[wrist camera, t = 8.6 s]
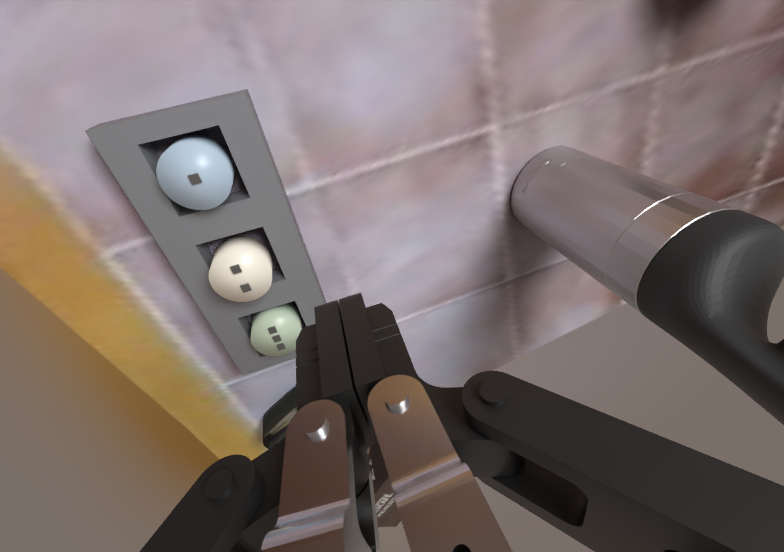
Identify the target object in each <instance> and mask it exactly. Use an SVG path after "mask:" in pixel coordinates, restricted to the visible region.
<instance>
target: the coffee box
mask: <svg viewBox="0 0 784 552" xmlns="http://www.w3.org/2000/svg"><path fill="white" fill-rule="evenodd" d="M372 431H373V430H372ZM373 436H374V441H375V444H373V445H370V446H367V447H366V448H367V453H368V458H369V464H370V471H371V474H372V480H373V488H374V497H375V506H376V515H377V524H378V527H381V526H382V527H385V526H386V527H387V526H394V527H395V526H397V525H398V523H399V522H400V521H401V518H400V515H399V511H398V508H397V505H396V501H395V498H394V493H393V492H394V491H393V487H392V484H391V481H390V477H389V474H388V471H387V468H386V465H385V461H384V458H383V455H382V452H381V449H380V445H379V442H378V443H377V440H376V438H375V435H374V433H373Z"/></svg>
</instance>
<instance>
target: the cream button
mask: <svg viewBox="0 0 784 552" xmlns="http://www.w3.org/2000/svg"><path fill="white" fill-rule="evenodd" d="M209 282H210V284H211V286H212V288H213V289H214V291H215V292H216V293H218V294H219V295H220V296H222V297H223V298H225V299H228V300H231V301H236V302H248V301H253V300H255V299H258V298H260V297H261V296H263V295H264V294H265V293H266V292H267V291H268V290H269V288H270V286H271V283H272V255H271V253H270V251H269V249H268V248H267V247H266V246H265V245H264V244H263V243H262V242H260V241H259V240H257V239H254V238H252V237H247V236H236V237H231V238H229V239H226V240H225V241H223V242H222V243H221V244H220V245H219V246H218V247H217V249H216V250H215V253H214V256H213V260H212V263H211V267H210V270H209Z"/></svg>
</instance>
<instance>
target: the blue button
mask: <svg viewBox="0 0 784 552" xmlns="http://www.w3.org/2000/svg"><path fill="white" fill-rule="evenodd" d="M156 175H157V179H158V182H159V184H160V186H161V188H162V190H163V191H164V192H165V194H166V195H167V196H168V197H169V198H170V199H172V200H173V201H174V202H176V203H177V204H179V205H181V206H183V207H186V208H189V209H194V210H208V209H212V208H215V207H217V206H219V205H220V204H222V203H223V202H224V201H225V200H226V199H227V197H228V196H229V194H230V191H231V188H232V185H233V181H234V178H235V165H234V161H233V159H232V157H231V155H230V153H229V152H228V151H227V149H226V148H225V147H224V146H223V145H221V144H220V143H219V142H217V141H216V140H214V139H212V138H210V137H207V136H203V135H187V136H183V137H181V138H179V139H177V140H176V141H175V142H174V143H173V144H172V145H171V146H170V147H169V148H168V149H167V150H166V151H165V152H164V153H163V154H162V155H161V156H160V158H159V160H158V163H157V168H156Z"/></svg>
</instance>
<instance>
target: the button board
mask: <svg viewBox="0 0 784 552" xmlns="http://www.w3.org/2000/svg"><path fill="white" fill-rule="evenodd" d="M217 125H219V127H220V129H221V131H222V134H223V136H224V138H225V140H226V143H227V145H228V147H229V150H230V152H231V154H232V157H233V159H234V161H235V164H236V166H237V168H238V170H239V173H240V175H241V177H242V180H243V182H244V184H245V187H246V190H242V191H239V192H235V193H231V194H229V196H228V197H227V199H226V200H225V201H224V202H223V203H222V204H220V205H219V206H217V207H215V208H212V209H208V210H194V209H189V208H186V207H183V206H181V205H179V204H177V203H176V202H174V201H173V200H172V199H170V198H169V197H168V196H167V195H166V194H165V192H164V191H163V190H162V188H161V186H160V184H159V182H158V179H157V175H156V168H157V163H158V160H159V157H158V155H157V153H156V152H155V150H154V148H153V146H152V144H151V142H152V141H156V140H160V139H164V138H168V137H172V136H176V135H180V134H185V133H189V132H193V131H197V130H201V129H205V128H209V127H213V126H217ZM85 132H86V133H87V135H88V136H89V138H90V140H91V141H92V143H93V144H94V146H95V147H96V149H97V150H98V152H99V154H100V155H101V157H102V158H103V160H104V161H105V163H106V164H107V166H108V168H109V169H110V171H111V172H112V174H113V175H114V177H115V178H116V180H117V181H118V183H119V185H120V186H121V188H122V189H123V191H124V192H125V194H126V195H127V197H128V199H129V200H130V202H131V203H132V205H133V206H134V208H135V209H136V211H137V212H138V214H139V216H140V217H141V219H142V220H143V222H144V223H145V225H146V226H147V228H148V230H149V231H150V233H151V234H152V236H153V237H154V239H155V240H156V242H157V243H158V245H159V247H160V248H161V250H162V251H163V253H164V254H165V256H166V257H167V259H168V261H169V262H170V264H171V265H172V267H173V268H174V270H175V271H176V273H177V275H178V276H179V278H180V279H181V281H182V282H183V284H184V285H185V287H186V288H187V290H188V292H189V293H190V295H191V296H192V298H193V299H194V301H195V302H196V304H197V306H198V307H199V309H200V310H201V312H202V313H203V315H204V316H205V318H206V319H207V321H208V323H209V324H210V326H211V327H212V329H213V330H214V332H215V333H216V335H217V337H218V338H219V340H220V341H221V343H222V344H223V346H224V347H225V349H226V350H227V352H228V354H229V355H230V357H231V358H232V360H233V361H234V363H235V364H236V366H237V368H238V369H239V371H240V372H241V374H242V375H243V374H246V373H250V372H253V371H256V370H259V369H262V368H265V367H268V366H271V365H274V364H277V363H281V362H284V361H287V360H290V359H293V358H296V357H297V356H296V349H295V350H294V351H292V352H290V353H288V354H286V355H282V356H268V355H264V354H262V353H260V352H258V351H257V350H256V349H255V348H254V347H253V346H252V344H251V327H252V325H251V323H250V321H249V320H248V318H247V315H250V314H253V313H257V312H260V311H263V310H266V309H270V308H273V307H276V306H280V305H283V304H286V303H289V302H293V301H295V302H296V304H297V306H298V309H299V311H300V313H301V315H302V318H303V320H304V322H305V325H306V326H310V325H313V324H316V323H315V312H314V307H316V306H319V305H323V304H326V300H325V297H324V295H323V292H322V289H321V287H320V284H319V281H318V278H317V276H316V273H315V270H314V268H313V265H312V262H311V260H310V257H309V254H308V251H307V249H306V246H305V243H304V241H303V238H302V235H301V233H300V230H299V227H298V224H297V222H296V219H295V216H294V214H293V211H292V208H291V206H290V203H289V200H288V197H287V195H286V192H285V189H284V187H283V184H282V181H281V179H280V176H279V173H278V170H277V168H276V165H275V162H274V160H273V157H272V154H271V152H270V149H269V146H268V143H267V141H266V138H265V135H264V133H263V130H262V127H261V125H260V122H259V119H258V116H257V114H256V111H255V108H254V106H253V103H252V100H251V98H250V95H249V92H248V89H246V90H242V91H238V92H234V93H229V94H225V95H221V96H217V97H212V98H208V99H204V100H199V101H195V102H191V103H187V104H182V105H178V106H174V107H170V108H165V109H161V110H157V111H152V112H148V113H144V114H140V115H135V116H131V117H127V118H123V119H118V120H114V121H110V122H105V123H101V124H98V125H96V126H94V127H92V128H90V129H88V130H86V131H85ZM260 227H263V228H264V230H265V233H266V235H267V237H268V239H269V242H270V244H271V246H272V249H273V251H274V253H275V256H276V258H277V260H278V263H279V265H280V267H281V268H278V269H274V270H272V283H271V286H270V288H269V290H268V291H267V292H266V293H265V294H264V295H263V296H261V297H260V298H258V299H255V300H253V301H248V302H236V301H231V300H228V299H225V298H223V297H222V296H220V295H219V294H218V293H216V292H215V291H214V289H213V288H212V286H211V284H210V282H209V270H210V267H211V263H212V260H213V254H212V253H211V251H210V249H209V247H208V245H207V244H206V242H209V241H213V240H216V239H220V238H224V237H227V236H231V235H234V234H238V233H242V232H245V231H249V230H252V229H256V228H260Z"/></svg>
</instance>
